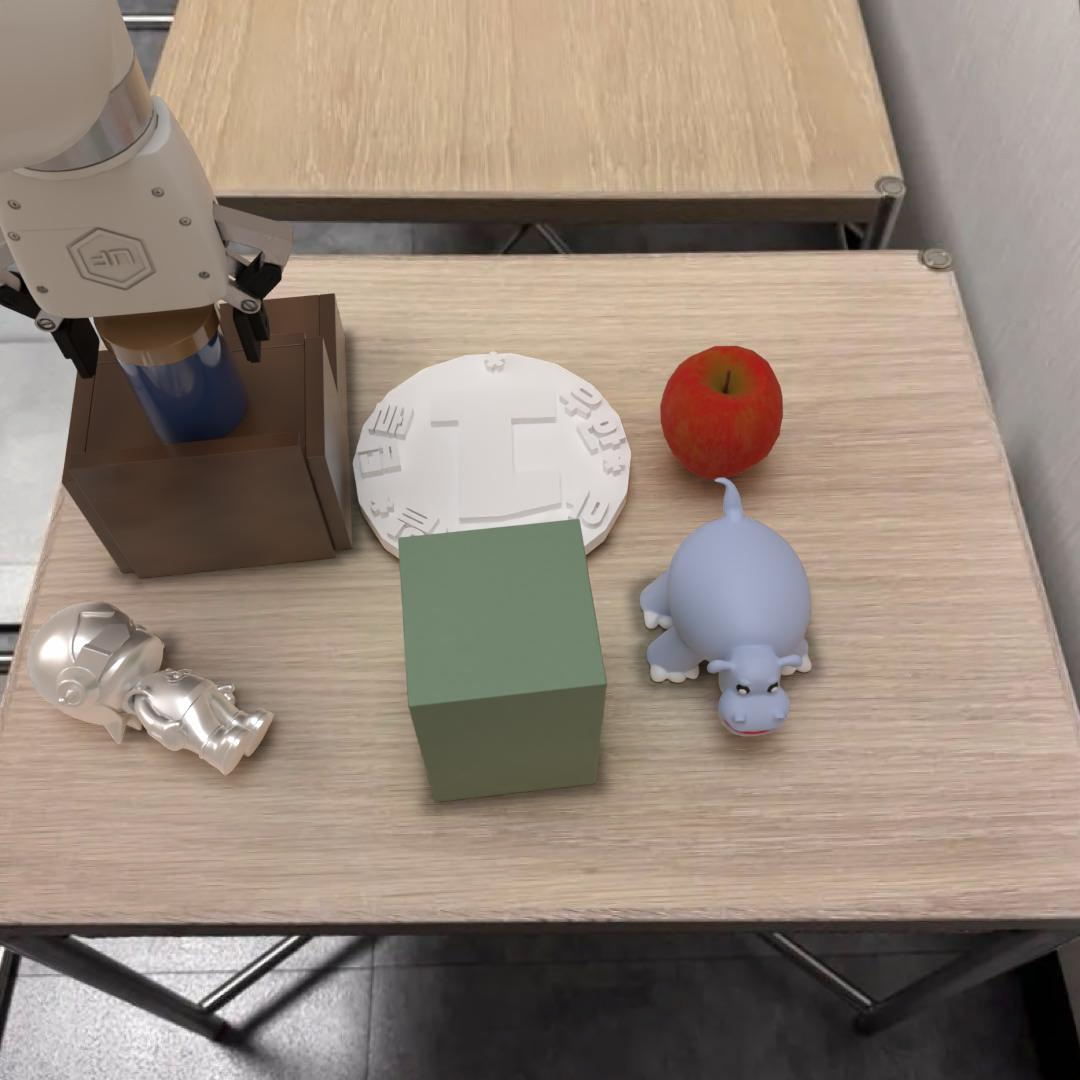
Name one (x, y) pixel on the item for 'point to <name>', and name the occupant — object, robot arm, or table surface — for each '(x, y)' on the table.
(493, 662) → the stand
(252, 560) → the wooden storage crate
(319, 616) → the table surface
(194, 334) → the jar
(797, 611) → the hippopotamus toy
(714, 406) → the apple
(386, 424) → the white round plaque
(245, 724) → the figurine
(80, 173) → the robot arm
